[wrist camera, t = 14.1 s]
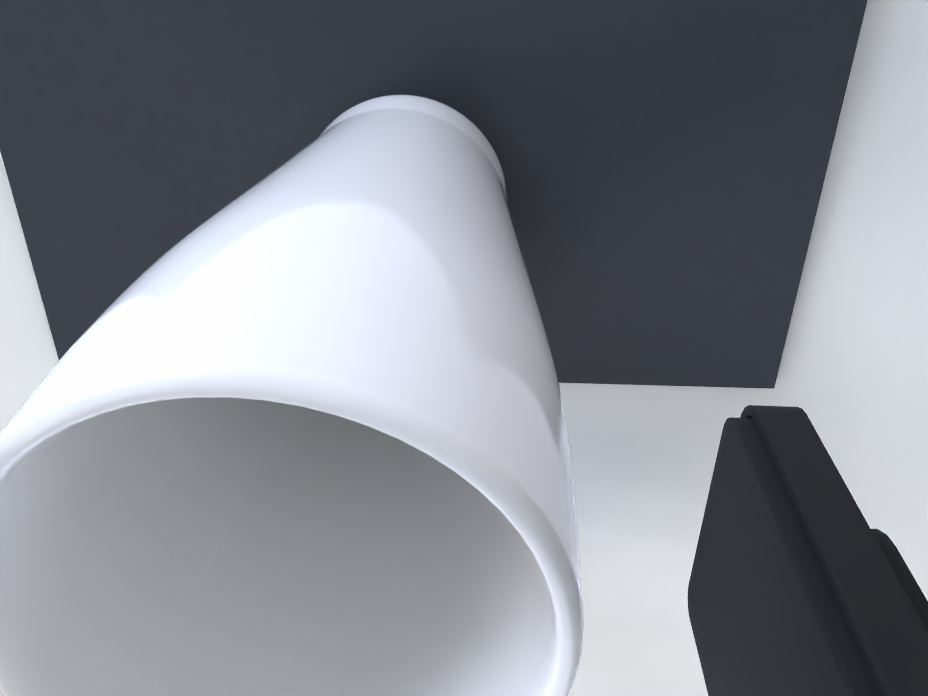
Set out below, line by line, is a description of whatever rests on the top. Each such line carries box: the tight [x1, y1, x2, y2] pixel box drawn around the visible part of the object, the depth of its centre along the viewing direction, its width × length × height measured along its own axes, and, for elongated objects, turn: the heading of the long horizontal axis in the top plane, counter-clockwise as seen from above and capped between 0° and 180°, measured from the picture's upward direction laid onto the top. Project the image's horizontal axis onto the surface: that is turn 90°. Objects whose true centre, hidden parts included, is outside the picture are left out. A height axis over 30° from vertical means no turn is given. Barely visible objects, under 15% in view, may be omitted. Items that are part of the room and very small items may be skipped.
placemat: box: [0, 0, 867, 388], centre depth 21 cm, size 12×22×1 cm, turn 89°
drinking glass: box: [0, 95, 584, 696], centre depth 15 cm, size 7×7×15 cm
